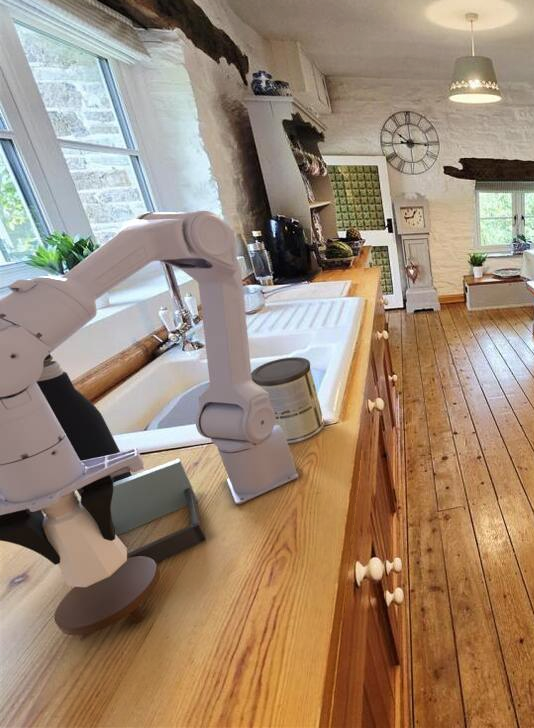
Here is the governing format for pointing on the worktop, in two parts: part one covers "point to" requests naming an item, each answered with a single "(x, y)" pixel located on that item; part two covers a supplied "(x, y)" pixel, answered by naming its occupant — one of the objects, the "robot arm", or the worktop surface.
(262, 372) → the coffee can
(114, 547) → the salt shaker
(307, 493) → the worktop surface
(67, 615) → the stool
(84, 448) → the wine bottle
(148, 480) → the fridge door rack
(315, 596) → the worktop surface
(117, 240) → the robot arm
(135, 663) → the worktop surface
